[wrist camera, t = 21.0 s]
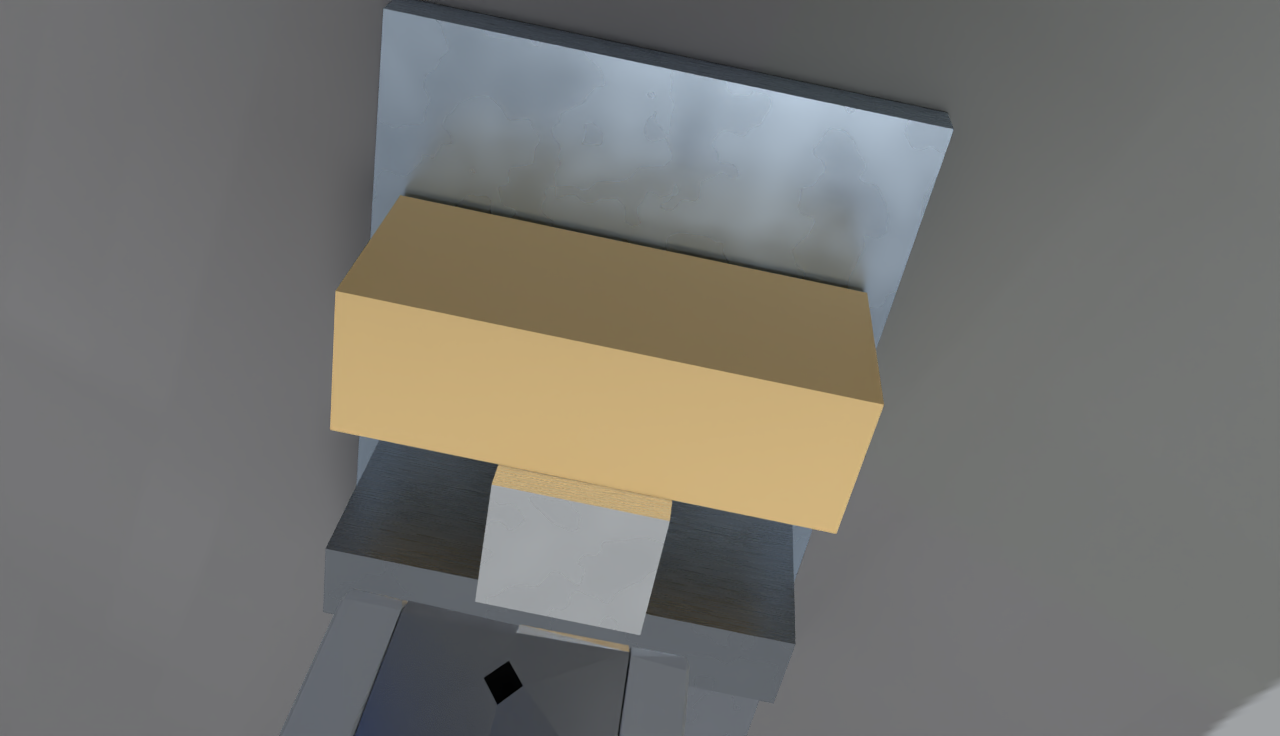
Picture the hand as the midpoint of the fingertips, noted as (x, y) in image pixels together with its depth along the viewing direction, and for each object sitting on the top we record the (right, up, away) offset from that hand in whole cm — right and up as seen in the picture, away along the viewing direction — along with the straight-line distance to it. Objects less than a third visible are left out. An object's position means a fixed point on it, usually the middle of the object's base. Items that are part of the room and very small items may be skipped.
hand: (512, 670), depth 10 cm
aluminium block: (0, +1, +32) cm, 32 cm away
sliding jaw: (0, +5, +29) cm, 30 cm away
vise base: (0, +2, +33) cm, 33 cm away
